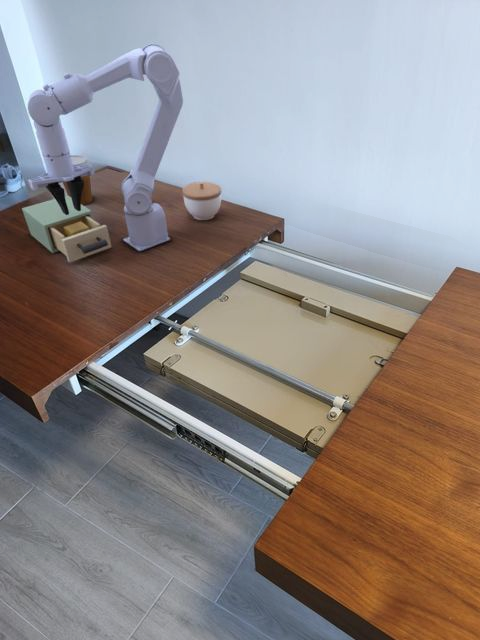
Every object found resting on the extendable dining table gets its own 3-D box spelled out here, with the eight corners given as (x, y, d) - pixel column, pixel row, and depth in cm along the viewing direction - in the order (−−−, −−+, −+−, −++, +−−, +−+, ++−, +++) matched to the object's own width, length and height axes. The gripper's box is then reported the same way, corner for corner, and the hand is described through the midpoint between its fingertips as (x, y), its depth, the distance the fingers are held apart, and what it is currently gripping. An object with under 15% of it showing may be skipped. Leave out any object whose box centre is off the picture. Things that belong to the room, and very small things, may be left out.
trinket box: (194, 227, 129) (190, 193, 123) (179, 212, 136) (175, 180, 130) (229, 218, 133) (227, 186, 127) (213, 204, 140) (211, 173, 134)
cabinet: (97, 237, 124) (91, 210, 120) (52, 253, 118) (43, 225, 113) (74, 220, 132) (67, 195, 127) (30, 234, 125) (21, 208, 121)
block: (85, 237, 120) (80, 221, 117) (93, 243, 118) (89, 227, 115) (68, 243, 118) (63, 226, 115) (76, 249, 115) (71, 233, 113)
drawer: (120, 253, 116) (115, 232, 113) (78, 269, 111) (71, 247, 107) (88, 230, 126) (83, 210, 122) (47, 244, 120) (40, 223, 116)
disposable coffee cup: (66, 196, 145) (55, 155, 137) (98, 193, 146) (89, 153, 139) (63, 208, 138) (52, 167, 130) (97, 205, 139) (87, 164, 132)
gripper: (30, 165, 97) (49, 226, 106) (95, 149, 105) (107, 208, 114) (17, 156, 101) (36, 216, 110) (80, 142, 109) (93, 199, 118)
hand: (71, 211), depth 112 cm, fingers closed
